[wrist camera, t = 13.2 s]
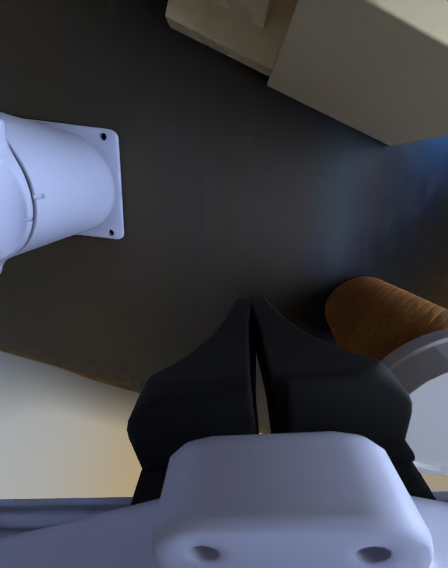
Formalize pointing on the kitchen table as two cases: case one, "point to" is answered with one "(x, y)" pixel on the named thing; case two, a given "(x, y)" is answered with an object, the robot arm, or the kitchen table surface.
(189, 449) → the robot arm
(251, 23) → the lever bracket
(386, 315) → the disposable coffee cup
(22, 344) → the kitchen table surface
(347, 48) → the toaster
